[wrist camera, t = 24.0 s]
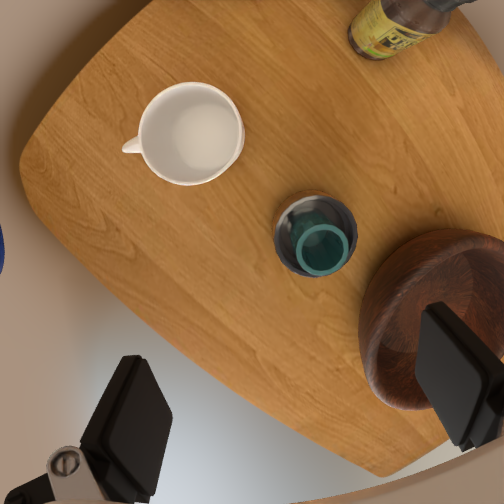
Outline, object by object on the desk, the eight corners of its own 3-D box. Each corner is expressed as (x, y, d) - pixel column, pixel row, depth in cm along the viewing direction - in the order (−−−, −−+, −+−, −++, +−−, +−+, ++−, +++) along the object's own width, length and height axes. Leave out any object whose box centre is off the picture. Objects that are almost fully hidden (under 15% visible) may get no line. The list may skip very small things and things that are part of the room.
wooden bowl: (387, 187, 36) (429, 203, 26) (507, 245, 38) (548, 268, 28) (316, 356, 43) (330, 406, 34) (440, 374, 46) (465, 412, 36)
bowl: (278, 268, 39) (281, 284, 35) (265, 196, 36) (267, 203, 32) (349, 255, 38) (360, 269, 34) (341, 183, 36) (353, 189, 31)
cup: (290, 252, 38) (300, 279, 30) (284, 211, 36) (292, 229, 29) (331, 244, 37) (350, 270, 30) (326, 203, 36) (345, 220, 28)
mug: (138, 112, 33) (97, 103, 23) (240, 94, 32) (235, 73, 22) (147, 183, 36) (110, 199, 25) (249, 168, 35) (248, 178, 25)
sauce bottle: (358, 67, 31) (451, 11, 12) (337, 22, 29) (406, -62, 10) (402, 57, 30) (506, 12, 11) (381, 14, 28) (468, -55, 9)
